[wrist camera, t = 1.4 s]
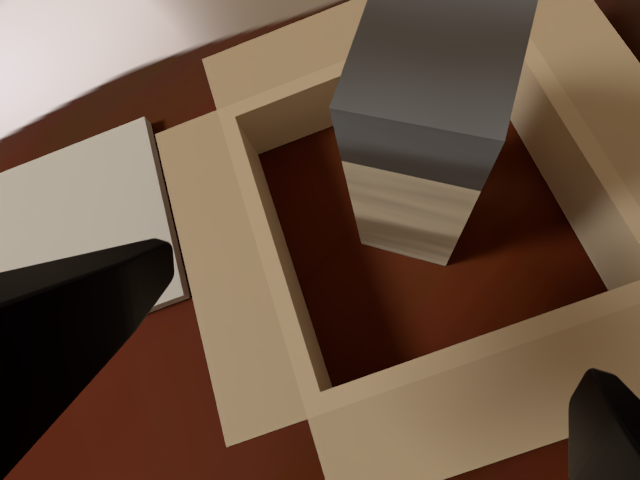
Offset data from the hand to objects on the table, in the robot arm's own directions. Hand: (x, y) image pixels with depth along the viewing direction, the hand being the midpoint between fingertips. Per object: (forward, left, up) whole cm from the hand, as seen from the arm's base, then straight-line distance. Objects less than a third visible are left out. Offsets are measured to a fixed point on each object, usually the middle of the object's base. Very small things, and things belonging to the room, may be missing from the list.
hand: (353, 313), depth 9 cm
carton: (+6, -4, -13) cm, 15 cm away
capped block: (+6, -4, -13) cm, 15 cm away
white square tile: (+12, +15, -13) cm, 23 cm away
